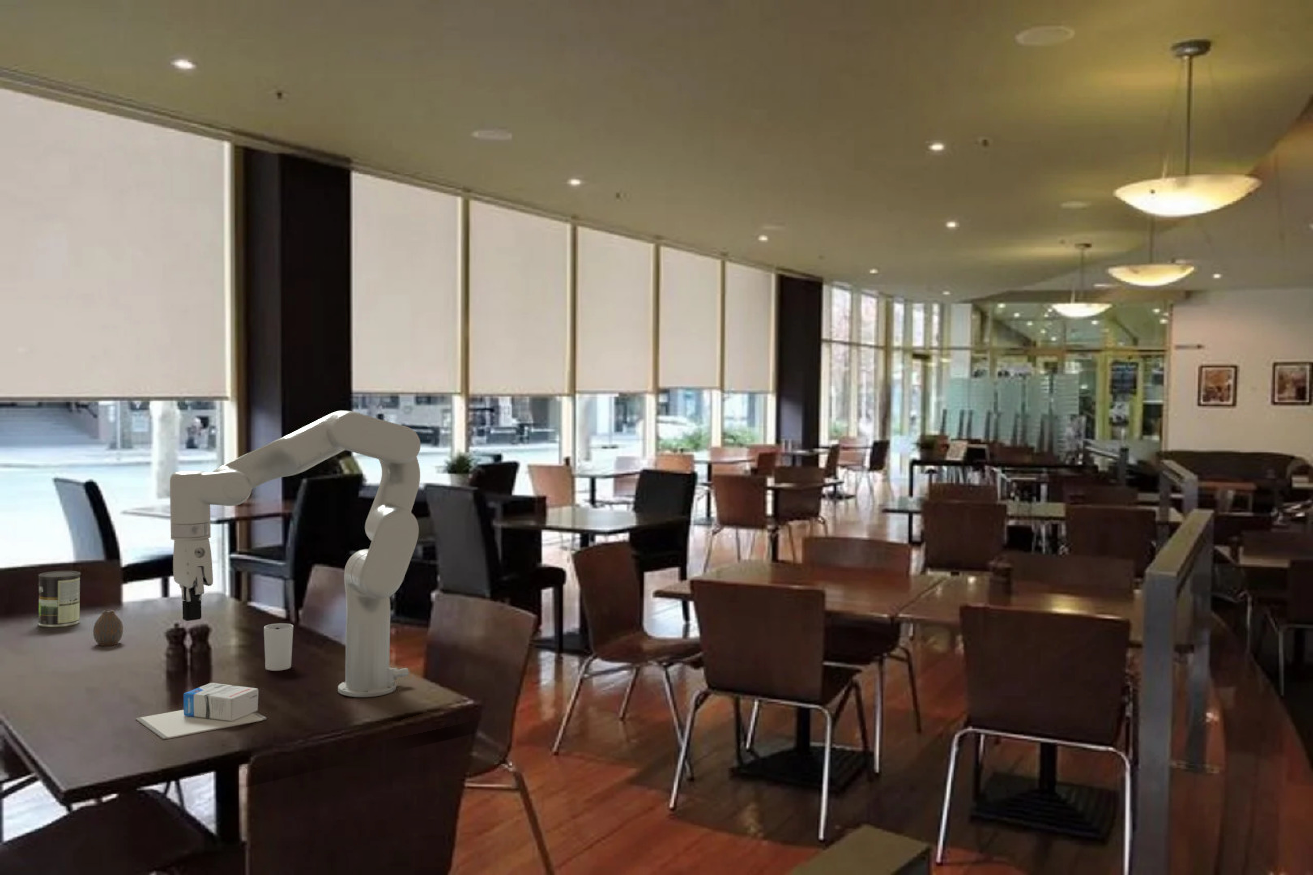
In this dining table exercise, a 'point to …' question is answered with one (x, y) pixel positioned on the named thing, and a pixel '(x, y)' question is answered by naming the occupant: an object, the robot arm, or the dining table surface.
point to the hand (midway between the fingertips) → (192, 619)
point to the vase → (108, 629)
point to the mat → (190, 723)
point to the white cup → (278, 646)
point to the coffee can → (59, 598)
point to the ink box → (220, 701)
